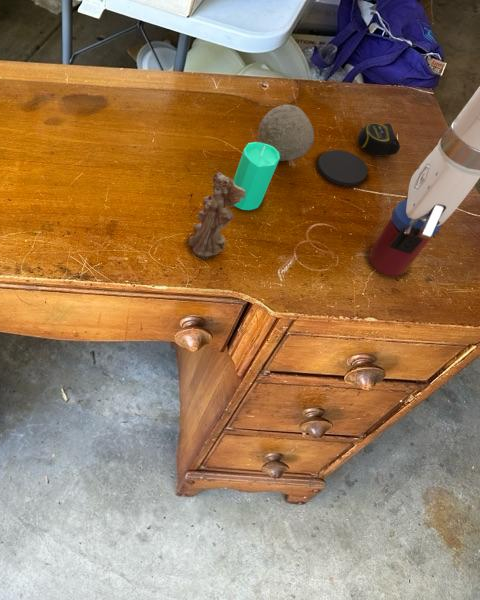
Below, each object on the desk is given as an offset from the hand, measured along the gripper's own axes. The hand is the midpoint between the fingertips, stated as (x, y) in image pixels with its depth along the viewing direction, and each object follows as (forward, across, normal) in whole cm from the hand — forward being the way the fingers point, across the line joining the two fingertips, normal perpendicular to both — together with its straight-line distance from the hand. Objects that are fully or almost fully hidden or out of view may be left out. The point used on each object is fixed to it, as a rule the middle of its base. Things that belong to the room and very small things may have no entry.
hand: (402, 232), depth 90 cm
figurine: (+8, +9, -28) cm, 31 cm away
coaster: (+7, -20, -10) cm, 23 cm away
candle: (+8, -4, -24) cm, 26 cm away
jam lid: (-4, 0, 0) cm, 4 cm away
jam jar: (+7, 0, +1) cm, 7 cm away
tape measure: (+7, -29, -4) cm, 30 cm away
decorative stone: (+8, -18, -22) cm, 29 cm away
